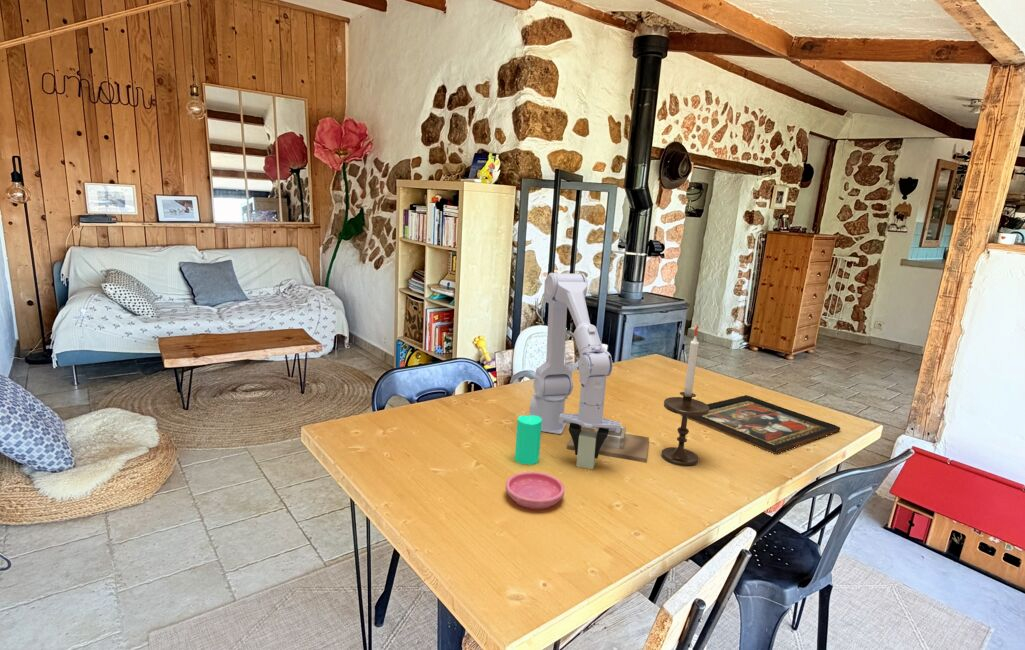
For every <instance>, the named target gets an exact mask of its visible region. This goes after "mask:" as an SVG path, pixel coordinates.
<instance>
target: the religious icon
mask: <svg viewBox="0 0 1025 650" xmlns="http://www.w3.org/2000/svg"><path fill="white" fill-rule="evenodd" d="M706 404H707V405H708V406H709V413H708V414H707V415H705V416H688V419H687V420H690V421H693V422H694V421H695V422H694V423H696V424H699V425H702V426H703V427H704V426H705V427H706V428H709V429H711V430H714V431H716V432H719V433H722V434H724V435H725V436H729V437H731V438H734V439H736V440H739V441H740V442H743V443H745V444H748V445H750V444H751V445H750V446H753V447H755V446H756V447H755V448H757V447H758V448H757V449H759V448H760V450H762V451H764V450H765V452H767V451H768V453H769V452H771V453H770V454H772V453H773V455H775V454H776V455H779V454H778V453H780V454H782V453H784V452H783V451H785V452H787V451H786V450H788V451H790V450H789V449H791V450H793V449H795V448H794V447H796V446H799V445H801V446H803V445H802V444H804V445H806V444H805V443H807V442H809V443H811V442H810V441H812V440H815V439H817V438H820V437H823V436H825V437H827V436H826V435H828V436H830V435H829V434H831V433H834V432H836V433H839V432H840V430H841V427H840V426H838V425H836V424H833V423H830V422H826V421H823V420H821V419H818V418H814V417H812V416H809V415H806V414H803V413H800V412H797V411H793V410H791V409H787V408H784V407H783V406H779V405H777V404H774V403H770V402H768V401H765V400H762V399H760V398H757V397H753V396H750V395H747V394H746V395H740V396H737V397H733V398H729V399H724V400H719V401H716V402H710V403H706ZM838 431H839V432H838ZM834 434H835V433H834ZM831 435H832V434H831ZM823 438H824V437H823ZM820 439H821V438H820ZM817 440H818V439H817ZM815 441H816V440H815ZM812 442H813V441H812ZM807 444H808V443H807ZM799 447H800V446H799ZM792 448H793V449H792ZM796 448H797V447H796ZM781 452H782V453H781Z"/></svg>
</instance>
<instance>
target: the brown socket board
mask: <svg viewBox="0 0 1025 650" xmlns="http://www.w3.org/2000/svg"><path fill="white" fill-rule="evenodd" d="M582 429H584V430H590V431H596V432H598V429H597V428H586V427H583V426H582V427H581V430H582ZM626 431H627V427H625V426H621V429H620V433H616V432H615V431H610V430H609V433H608V436H607V437H606V439H605V440H604V442H603V444H602V446H601V448H600V450H599V454H598V455H601V456H608V457H613V458H618V459H624V460H631V461H636V462H642V463H647V459H648V451H649V442H650V441H649V440H650V437H649V436H643V435H637V434H632V433H631V434H630V433H626ZM566 449H567V450H571V451H572V450H573V451H575V447H574V443H573V440H572V437H571V436H570V437H569V440H568V442H567V444H566Z"/></svg>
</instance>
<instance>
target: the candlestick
mask: <svg viewBox="0 0 1025 650" xmlns="http://www.w3.org/2000/svg"><path fill="white" fill-rule="evenodd" d="M698 330H699V325H698V323H697V324H696V327H695V329H694V331H693V335H694V337H693V339H692V340H690V345H689V353H688V358H687V359H688V360H687V368H686V375H685V384H684V390H683V391H680V392H679V395H681V396H672V397H668V398H667V397H666V398H665V399H664V401H663V407H664V409H666V410H667V411H669V412H671V413H674V414H676V415H677V414H678V415H680V416H681V423H680V427H677V430H676V431H677V433H678V437H676V441H678V444H677V445H678V446H677V447H675V446H673V447H672V446H671V447H665V448H663V449H662V450H661V454H660V456H661V458H662V459H663V460H664V461H666V462H667V463H669V464H671V465H675V466H681V467H693V466H696V465H697V464H698V463H699V456H698V454H696V453H695V452H693V451H691V450H690V449H686V448H685V443H686V442H688V439H687V438H686V436H687V435H688V434H689V433H690V431H689V429H688V427H687V425H688V420H689V419H688V416H705V415H707V414H708V413H709V406H708V405H707V404H708V403H705V402H703V401H700V400H699V399H698V400H697V399H694V398H696V397H697V394H695V393H693V389H694V381H695V380H694V379H695V375H696V374H695V373H696V366H697V359H698V351H699V344H700V343H699V341H698V337H697V336H698Z"/></svg>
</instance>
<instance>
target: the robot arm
mask: <svg viewBox="0 0 1025 650" xmlns="http://www.w3.org/2000/svg"><path fill="white" fill-rule="evenodd" d="M588 286H589V285H588V280H587V277H586V275H585V273H583V272H582V273H581V272H579V273H559V272H556V273H555V272H549V273H548V275H547V276H546V278H545V280H544V290H543V297H544V299H543V301H544V302H545V303H547V304H548V315H547V316H548V317H547V335H546V336H547V338H546V357H545V358H546V359H545V360H546V361H545V362H544V363H542V364H541V365H540V366H538V367H537V368H536V369H535V373H534V374H535V375H534V379H533V391H534V394H533V395H532V396H531V400H530V402H529V411H528V412H529V413H528V416H530V415H535V416H539V417H540V418H541V419H542V425H541V432H544V433H550V434H555V435H562V434H563V432H564V430H565V429H566V426H567V425H569V427H568V432H569V434H570V438H571V437H572V440H573V443H574V447H575V450H574V455H575V456H577V453H578V442H579V434H580V432H581V427H586V428H594V429H596V428H597V429H598V432H597V441H596V450H595V457H594V458H596V459H599V455H600V454H599V450H600V448H601V446H602V444H603V442H604V440H605V439H606V437H607V436H608V433H609V430H610V431H615V432H616V433H620V429H621V427H622V422H619V421H614V420H611V419H609V418H605V417H603V414H604V407H605V405H604V404H605V396H606V395H605V394H606V386H607V377H609V376H611V374H612V371H613V367H614V365H613V360H612V359H613V358H612V355H611V353H610V351H608V350H607V349H606V347H604V346H603V344H602V340H601V339H600V335H599V332H598V328H597V327H596V325H594V324H591V320H590V316H589V311H588V307H587V302H586V296H587V293H588V289H589V287H588ZM568 311H569V314H570V316H571V318H572V320H573V323H574V325H575V329H574V332H573V337H574V341H575V345H576V347H577V351H578V355H579V359H578V362H577V365H578V374H579V377H578V378H579V382H580V393H579V403H578V414H577V413H565V407H566V406H565V404H566V400H568V399H569V396H571V394H572V392H573V389H574V381H573V372H572V369H571V368H570V367H569V366H567V364H565V357H566V356H565V353H566V335H567V320H568V319H567V318H568V317H567V315H568ZM596 459H595V460H596Z"/></svg>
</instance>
